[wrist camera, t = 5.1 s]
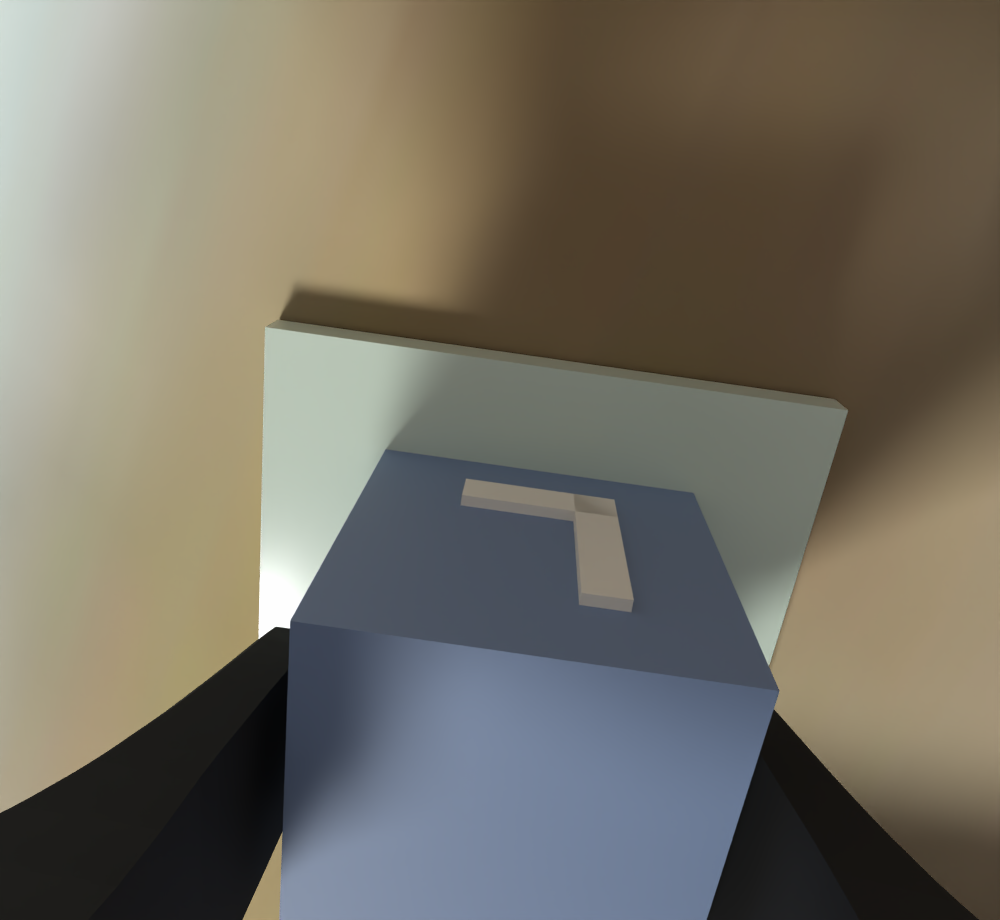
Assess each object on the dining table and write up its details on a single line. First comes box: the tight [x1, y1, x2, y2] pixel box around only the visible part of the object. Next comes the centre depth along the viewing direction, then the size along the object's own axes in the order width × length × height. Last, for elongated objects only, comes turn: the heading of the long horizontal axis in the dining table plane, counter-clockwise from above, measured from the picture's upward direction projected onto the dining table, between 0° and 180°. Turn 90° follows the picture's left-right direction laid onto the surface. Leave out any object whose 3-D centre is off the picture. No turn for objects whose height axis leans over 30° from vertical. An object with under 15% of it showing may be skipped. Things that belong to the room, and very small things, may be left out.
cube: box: [280, 449, 779, 920], centre depth 11 cm, size 5×5×5 cm
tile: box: [259, 320, 848, 666], centre depth 14 cm, size 9×9×1 cm
